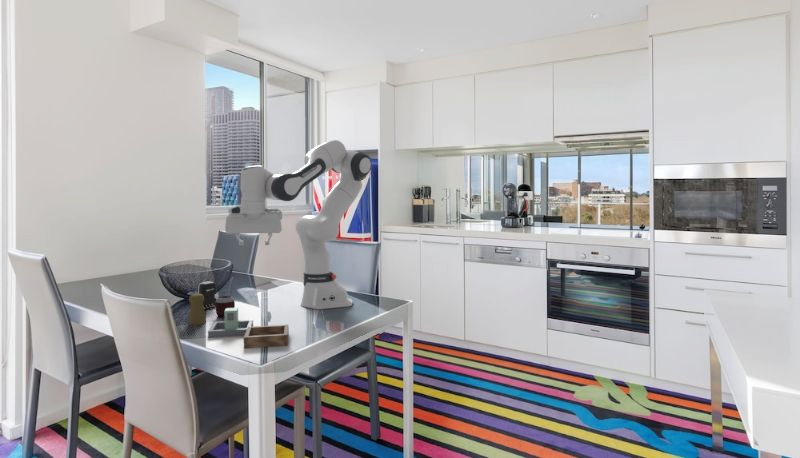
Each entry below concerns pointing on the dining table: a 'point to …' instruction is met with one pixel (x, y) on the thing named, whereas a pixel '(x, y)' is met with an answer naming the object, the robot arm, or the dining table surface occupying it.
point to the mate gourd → (224, 303)
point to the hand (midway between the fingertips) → (254, 245)
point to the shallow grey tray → (229, 332)
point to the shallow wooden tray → (266, 336)
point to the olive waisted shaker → (196, 310)
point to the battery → (208, 294)
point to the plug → (231, 318)
